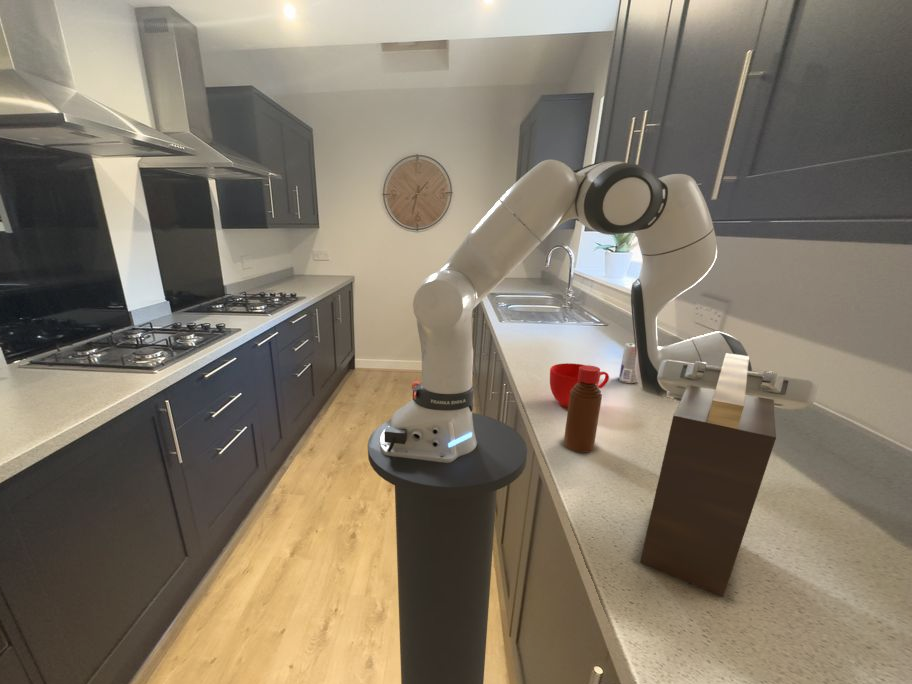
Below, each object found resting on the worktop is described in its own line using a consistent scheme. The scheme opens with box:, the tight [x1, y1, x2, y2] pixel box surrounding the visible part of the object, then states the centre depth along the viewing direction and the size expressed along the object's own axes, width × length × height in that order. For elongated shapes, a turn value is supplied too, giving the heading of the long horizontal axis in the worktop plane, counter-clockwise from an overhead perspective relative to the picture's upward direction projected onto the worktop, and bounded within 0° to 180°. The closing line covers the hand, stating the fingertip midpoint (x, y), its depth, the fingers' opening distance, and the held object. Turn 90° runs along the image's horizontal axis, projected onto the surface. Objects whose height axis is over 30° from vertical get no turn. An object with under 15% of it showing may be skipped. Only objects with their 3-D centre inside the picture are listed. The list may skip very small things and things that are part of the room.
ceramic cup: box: [549, 362, 610, 408], centre depth 115 cm, size 13×17×10 cm
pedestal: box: [639, 385, 777, 597], centre depth 59 cm, size 14×10×24 cm
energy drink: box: [618, 342, 638, 384], centre depth 131 cm, size 5×5×12 cm
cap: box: [578, 364, 601, 384], centre depth 88 cm, size 4×4×3 cm
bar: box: [707, 353, 750, 429], centre depth 58 cm, size 25×3×3 cm, turn 140°
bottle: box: [563, 381, 603, 453], centre depth 91 cm, size 6×6×18 cm
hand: (733, 371), depth 62 cm, fingers open, 7 cm apart
